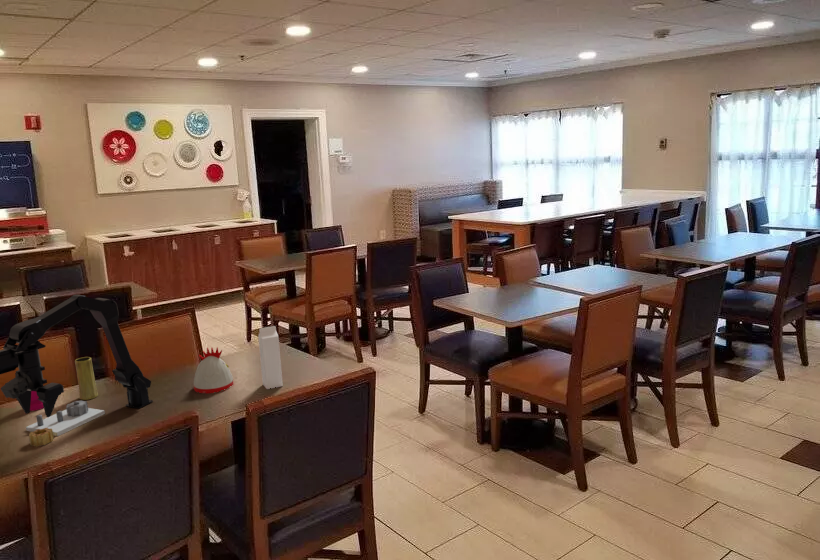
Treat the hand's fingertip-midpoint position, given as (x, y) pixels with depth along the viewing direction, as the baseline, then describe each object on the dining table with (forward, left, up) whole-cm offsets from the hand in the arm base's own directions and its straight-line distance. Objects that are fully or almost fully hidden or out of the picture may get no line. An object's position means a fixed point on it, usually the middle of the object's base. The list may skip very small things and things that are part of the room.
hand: (38, 415), depth 193 cm
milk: (-41, -61, -9) cm, 74 cm away
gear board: (+6, -13, -9) cm, 17 cm away
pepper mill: (+28, -19, -9) cm, 35 cm away
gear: (0, 0, -9) cm, 9 cm away
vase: (+18, -32, -9) cm, 38 cm away
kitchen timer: (-20, -54, -9) cm, 59 cm away
